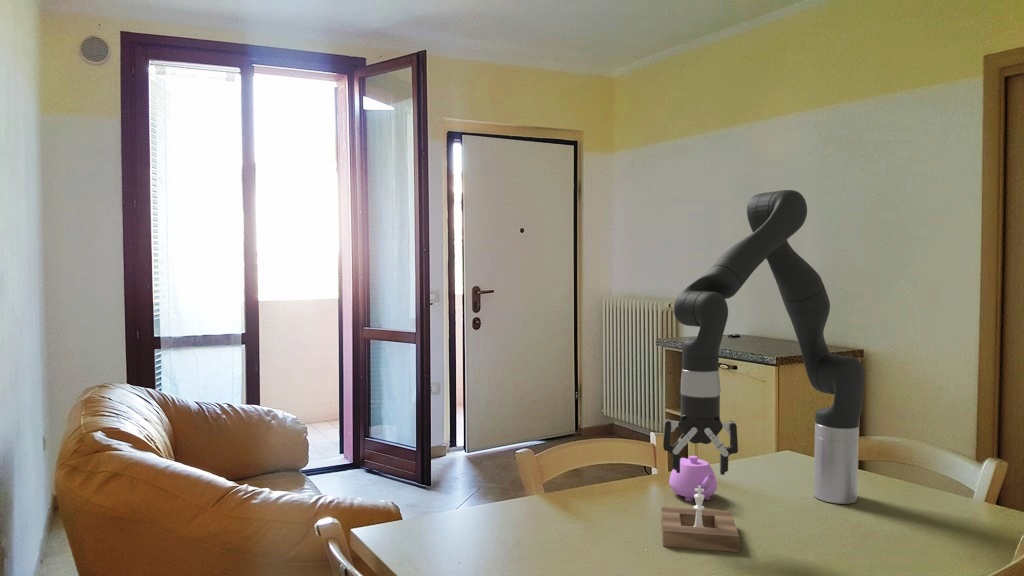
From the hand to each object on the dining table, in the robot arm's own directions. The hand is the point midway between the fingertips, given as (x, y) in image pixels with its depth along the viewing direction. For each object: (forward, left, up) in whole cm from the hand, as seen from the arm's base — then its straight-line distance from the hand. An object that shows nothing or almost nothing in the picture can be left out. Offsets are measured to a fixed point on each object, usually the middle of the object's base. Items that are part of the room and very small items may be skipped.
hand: (699, 472), depth 143 cm
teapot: (-24, +1, -13) cm, 27 cm away
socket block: (0, 0, -13) cm, 13 cm away
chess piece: (0, 0, -13) cm, 13 cm away
